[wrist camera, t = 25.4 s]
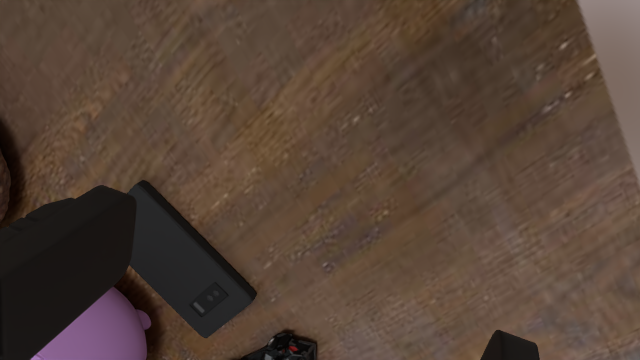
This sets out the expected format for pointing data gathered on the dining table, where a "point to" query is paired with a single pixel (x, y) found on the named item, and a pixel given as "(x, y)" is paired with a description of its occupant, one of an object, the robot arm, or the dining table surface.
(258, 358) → the toy car
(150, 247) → the phone
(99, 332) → the teapot
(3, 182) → the sea urchin shell
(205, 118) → the dining table surface
